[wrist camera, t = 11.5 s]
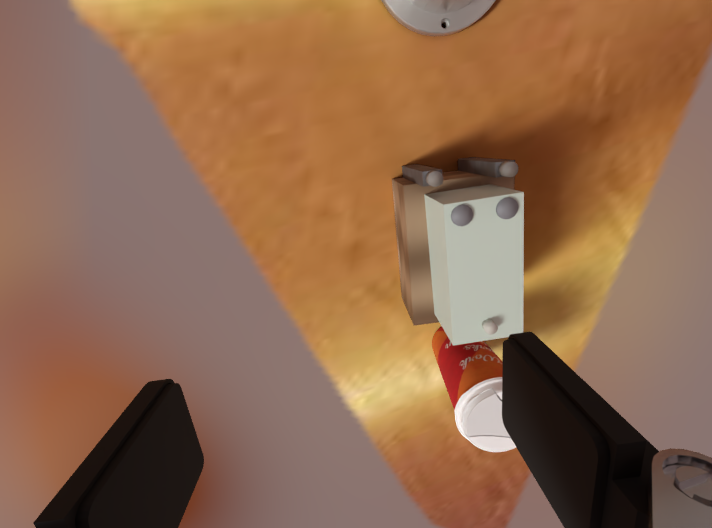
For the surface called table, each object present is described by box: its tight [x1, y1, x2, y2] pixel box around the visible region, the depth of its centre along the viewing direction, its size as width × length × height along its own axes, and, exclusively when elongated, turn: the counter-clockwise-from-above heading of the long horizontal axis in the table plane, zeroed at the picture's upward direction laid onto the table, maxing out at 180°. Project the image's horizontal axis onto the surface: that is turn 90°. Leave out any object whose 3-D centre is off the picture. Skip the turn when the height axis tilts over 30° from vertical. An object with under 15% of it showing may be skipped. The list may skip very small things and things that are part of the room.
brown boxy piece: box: [392, 157, 518, 325], centre depth 35 cm, size 15×10×10 cm, turn 7°
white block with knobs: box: [424, 184, 524, 346], centre depth 30 cm, size 12×6×7 cm, turn 8°
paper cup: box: [432, 326, 516, 452], centre depth 38 cm, size 8×8×14 cm
